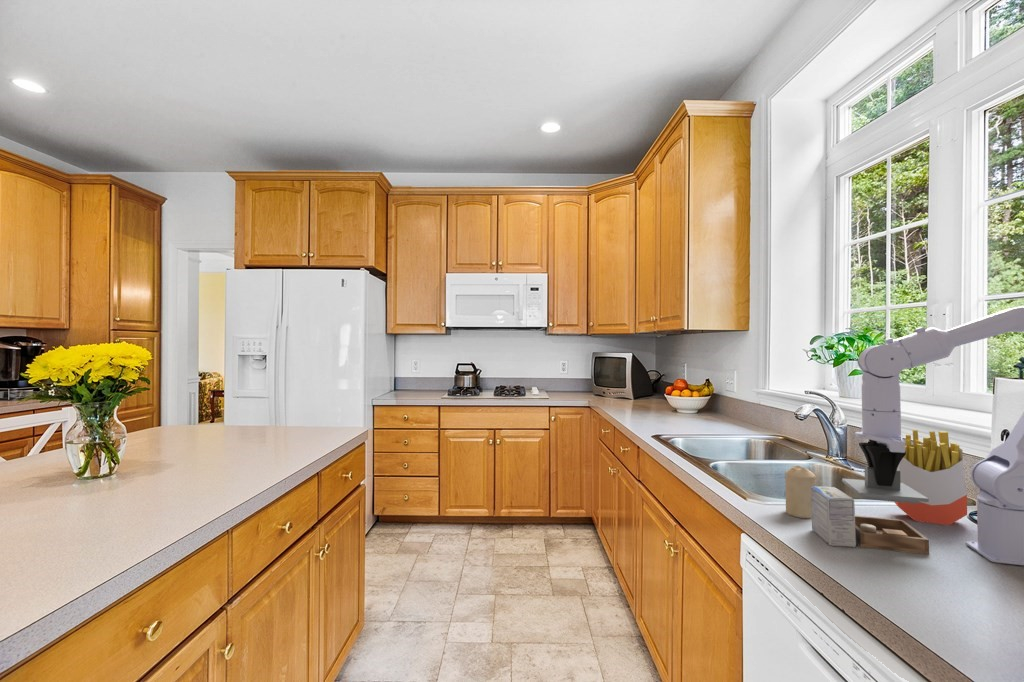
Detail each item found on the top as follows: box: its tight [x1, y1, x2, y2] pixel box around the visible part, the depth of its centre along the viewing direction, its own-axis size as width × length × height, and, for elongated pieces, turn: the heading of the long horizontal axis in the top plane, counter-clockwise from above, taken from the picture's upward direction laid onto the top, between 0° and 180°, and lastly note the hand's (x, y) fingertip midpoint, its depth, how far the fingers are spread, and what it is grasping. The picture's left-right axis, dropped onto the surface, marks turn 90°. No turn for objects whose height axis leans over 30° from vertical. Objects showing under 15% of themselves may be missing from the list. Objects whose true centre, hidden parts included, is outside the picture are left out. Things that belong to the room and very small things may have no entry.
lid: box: [841, 466, 929, 504], centre depth 90 cm, size 10×10×5 cm
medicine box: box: [811, 485, 857, 548], centre depth 91 cm, size 8×4×9 cm, turn 168°
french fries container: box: [894, 429, 968, 526], centre depth 100 cm, size 5×11×18 cm, turn 63°
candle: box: [784, 465, 817, 519], centre depth 104 cm, size 6×6×10 cm
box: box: [855, 515, 930, 555], centre depth 90 cm, size 10×10×2 cm
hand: (882, 483), depth 90 cm, fingers closed on lid
